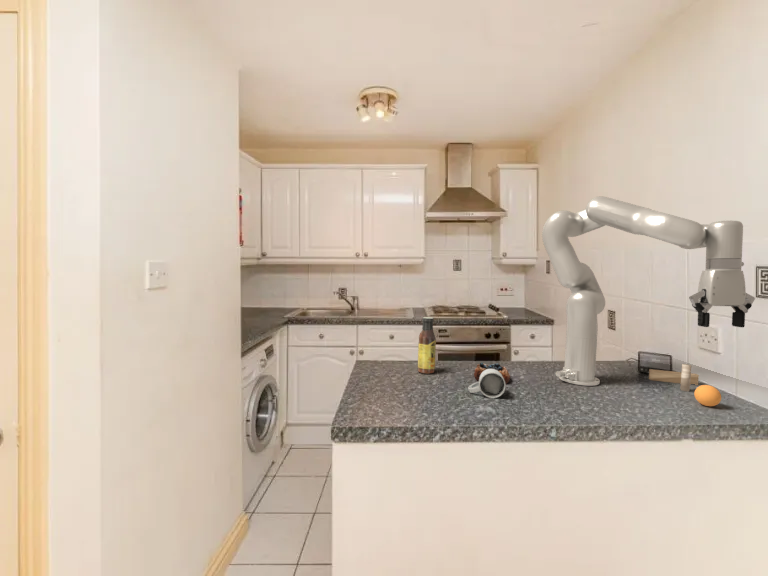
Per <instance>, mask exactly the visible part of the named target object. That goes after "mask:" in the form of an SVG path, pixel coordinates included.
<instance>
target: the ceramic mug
mask: <svg viewBox="0 0 768 576" xmlns="http://www.w3.org/2000/svg"><path fill="white" fill-rule="evenodd" d="M506 386H507V384H506V383H505V380H504V378H503V376H502V374H501V373H500V372H499V371H497V370H495V369H486V370H484V371H483V372H482V373H481V375H480V377H479V381H476V382H474V383H472V384H470V385H468V387H467V389H468V391H469V393H471V394H474V393H479V392H481V394H482V395H483V396H485V397H486V398H488V399H489V398H490V399H496V398H499V397H501V396H502V395H503V394H504V393H505V392H506Z"/></svg>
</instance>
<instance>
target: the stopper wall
mask: <svg viewBox="0 0 768 576" xmlns="http://www.w3.org/2000/svg"><path fill="white" fill-rule="evenodd" d="M681 373H682V371H670V370H661V369H652V368H651V369H650V368H649V370H648V380H650V381H654V382H664V383H674V384H681ZM699 377H700V375H699V374H697V373H692V372H691V378H690V385H691V384H695V385H694V386H699Z"/></svg>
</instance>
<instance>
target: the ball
mask: <svg viewBox="0 0 768 576" xmlns="http://www.w3.org/2000/svg"><path fill="white" fill-rule="evenodd" d="M721 394H722V393H721V392H720V391H719V389H717V387H715V386H713V385H709V384H702V385H698V387H696V389H695V390H694V394H693V395H694V399H696V401H697V403H699V404H700V405H702V406H706V407H715V406H717V405H719V404H720V403H721V401H722V395H721Z"/></svg>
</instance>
